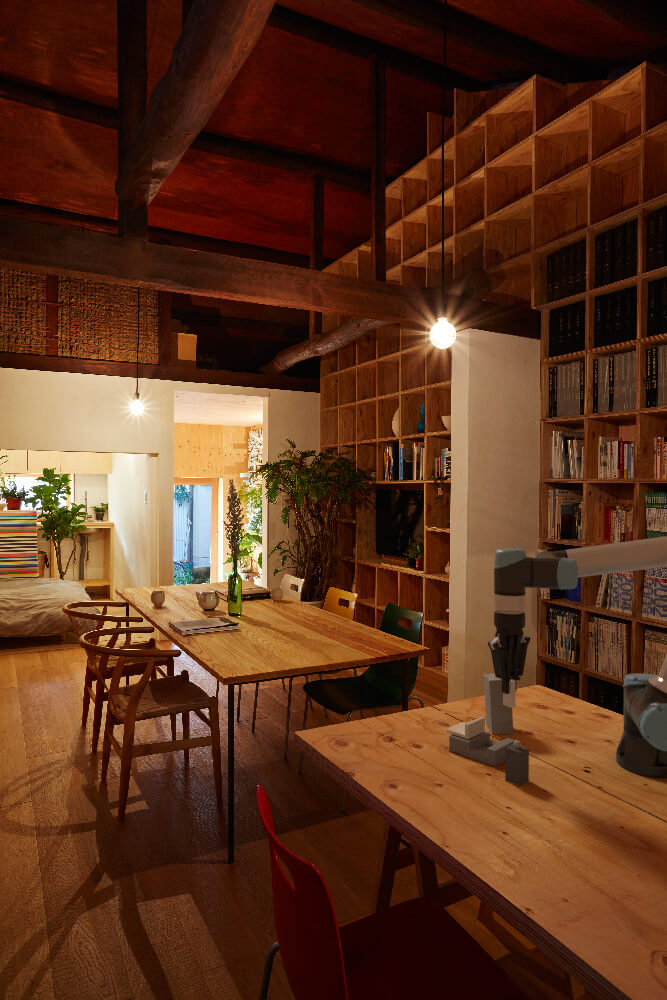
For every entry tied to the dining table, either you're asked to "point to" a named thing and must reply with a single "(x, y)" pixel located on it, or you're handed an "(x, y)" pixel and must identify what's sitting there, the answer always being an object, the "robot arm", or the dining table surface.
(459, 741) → the socket
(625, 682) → the robot arm
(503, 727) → the skincare box
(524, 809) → the dining table surface
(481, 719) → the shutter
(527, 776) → the plug
